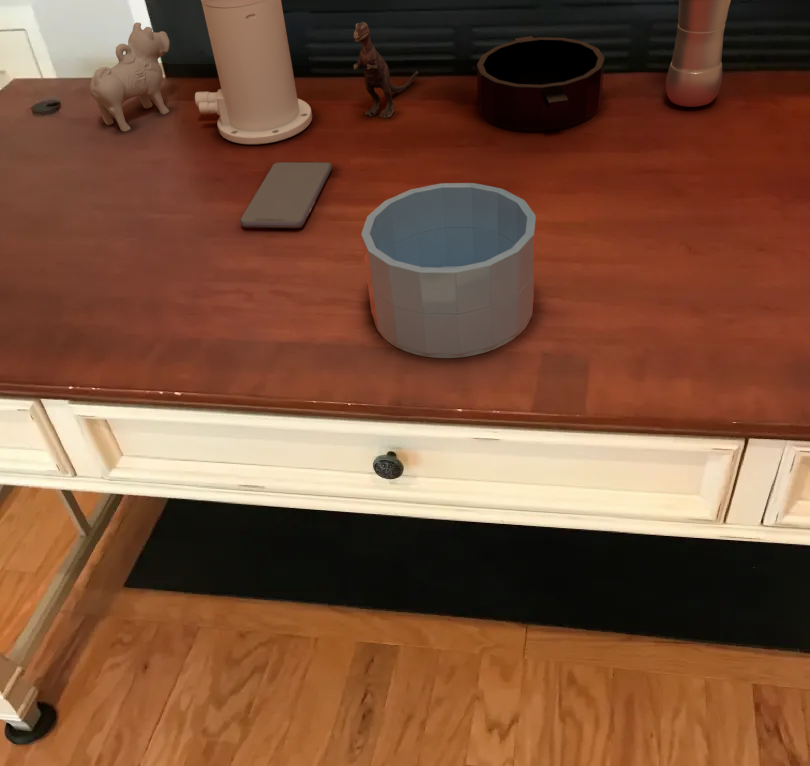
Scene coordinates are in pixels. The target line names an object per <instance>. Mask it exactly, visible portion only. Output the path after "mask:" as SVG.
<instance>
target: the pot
mask: <svg viewBox="0 0 810 766" xmlns="http://www.w3.org/2000/svg"><path fill="white" fill-rule="evenodd" d="M536 230H537V215H536V214H535V213H534V211H533V210H532V208H531V207H530V205H529V204H528V202H527V201H526V200H525V199H523V198H521V197H519V196H517V195H516V194H513V193H511V192H510V191H508V190H506V189H504V188H501V187H495V186H491V185H487V184H482V183H481V184H480V183H475V182H444V183H443V182H440V183H436V184H431V185H426V186H420V187H416V188H411V189H409V190H407V191H406V190H405V191H404V192H401V193H400V194H397V195H395V196H393V197H390V198H388V199H386V200H384V201H383V202H382V203H381V204H379V205H378V206H377V207H376V208H375V209H373V210H372V211H371V212H370V213H369V214H368V215H367V216H366V219H365V222H364V225H363V227H362V230H361V233H360V234H361V243H362V251H363V258H364V260H363V261H364V265H365V274H366V281H367V289H368V298H369V305H370V313H371V315H372V318H373V322H374V326H375V328H376V330H377V332H378V333H379V334H380V336H381V337H382V338H383V339H384V340H385V341H386V342H387V343H389V344H390V345H392V346H394V347H395V348H397V349H399V350H400V351H404V352H405V353H408V354H413V355H416V356H420V357H424V358H425V357H427V358H432V359H460V358H468V357H473V356H478V355H482V354H486V353H488V352H491V351H494V350H496V349H498V348H501V347H503V346H505V345H506V344H508V343H510V342H511V341H513V340H514V339H516V338H517V337H518V336H520V335H521V333H522V332H523V331H524V330H526V328H527V326H528V325H529V324H530V321H531V319H532V316H533V312H534V301H535V300H534V299H535V274H536V273H535V271H536V270H535V268H536V267H535V266H536V233H537V231H536Z"/></svg>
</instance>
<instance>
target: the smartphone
mask: <svg viewBox="0 0 810 766" xmlns="http://www.w3.org/2000/svg"><path fill="white" fill-rule="evenodd" d="M332 169H333V165H332V163H331V162H326V161H325V162H321V161H320V162H314V161H309V162H307V161H306V162H305V161H304V162H299V161H297V162H296V161H292V162H291V161H290V162H289V161H287V162H286V161H285V162H283V161H281V162H280V161H278V162H275V163H274V164H272V166H271V167H270V169H269V171H268V172H267V173H266V176H265V177H264V179H263V181H262V183H261V184H260V185H259V188H258V189H257V191H256V192H255V194H254V196H253V197H252V199H251V201H250V202H249V204H248V206H247V207H246V209H245V211H244V212H243V213H242V215H241V217H240V219H239V223H240V225H241V226H242V227H243V228H246V229H247V228H248V229H300V228H302V227H303V226H304V225H305V223H306V221H307V219H308V217H309V216H310V213H311V211H312V210H313V207H314V205H316V201H317V199H318V197H319V195H320V194H321V191H322V189H323V187H324V185H325V183H326V181H327V179H328V177H329V176H330V174H331V171H332Z"/></svg>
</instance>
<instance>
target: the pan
mask: <svg viewBox="0 0 810 766" xmlns="http://www.w3.org/2000/svg"><path fill="white" fill-rule="evenodd" d="M605 61H606V60H605V56H604V55H603V53H602V52H601V51H600V49H599V48H598V47H596V46H594V45H591V44H589V43H587V42H585V41H581V40H577V39H576V40H575V39H571V38H566V37H544V36H543V37H542V36H541V37H533V36H532V35H529V36H524V37H523V36H522V37H516V38H514V40H513V41H510V42H507V43H504V44H500V45H496V46H494V47H493V48H491V49H490V50H488V51H487V52H485V53H484V54H482V55H481V57H480V58H479V60H478V61H477V64H476V83H477V84H476V85H477V106H478V111H479V115H480V117H481V118H482V119H483V120H484V121H485V122H486V123H488V124H489V125H492V126H494V127H495V128H499V129H502V130H504V131H505V130H506V131H511V132H516V133H525V134H526V133H527V134H532V133H533V134H537V133H538V134H539V133H551V132H558V131H563V130H568V129H571V128H574V127H577V126H579V125H581V124H583V123H586V122H587V121H589V120H590V119H592V118H593V117H594V116H596V114H597V113H598V112H599V110H600V107H601V102H602V97H603V85H604V70H605Z"/></svg>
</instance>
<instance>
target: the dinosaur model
mask: <svg viewBox="0 0 810 766" xmlns="http://www.w3.org/2000/svg"><path fill="white" fill-rule="evenodd" d="M353 39H354V42H355V43H357V44H359V43H361V50H360V51H359V54H358V59H357V62H356V63H354V64H353V69H354V71H357V69H361V67H362V68H363V72H364V84H365V89H366V91H367V93H368V94H369V95H370V97H371V98H372V106H371V108H370V109H368V110H366V111H365V116H369V117H371V116H376V114H377V113H378V111H379V108H380V104H381V97H380V96H379V95H378V93H377V91H375V89H381V90H382V91H383V94H384V97H385V98H386V106H385V108H384V109H383V110H382V111H381V112H380V117H382V118H383V119H384V118H390V117H391V116H392V115H393V113H394V106H395V105H394V103H395V102H394V99H393V96H392V95H393V94H392V93H394V94H398V93H401V92H403V91H405V90H406V89H407V88H409V86H411V84H412V83H413V81H414V80H415V79H416V78H417V74H418V73H419V71H417V70H416V71H415V72H414V73H412V76H411V77H410V78H409V80H407V81H406V83H405V84H403V85H394V84H393V83H392V82H391V77H390V76H391V74H390V70H389V69H390V68H389V66H388V64H387V62H386V61H385V59H384V58H383V56H382V55H381V54H380V53H379V52H378V51H377V49H376V47H375V45H374V44H373V43H372V41H371V40H372V39H371V34H370V28H369V25H368V24H367V23H366V22H365V21H362V22H357V23H356V24H355V29H354V32H353Z"/></svg>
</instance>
